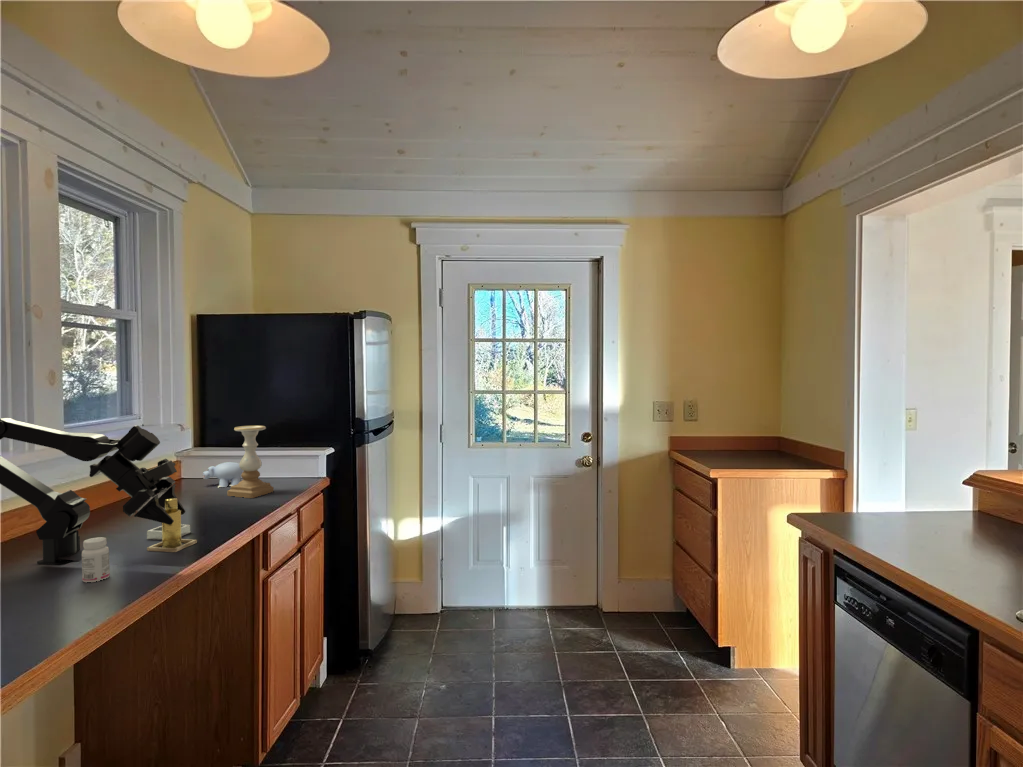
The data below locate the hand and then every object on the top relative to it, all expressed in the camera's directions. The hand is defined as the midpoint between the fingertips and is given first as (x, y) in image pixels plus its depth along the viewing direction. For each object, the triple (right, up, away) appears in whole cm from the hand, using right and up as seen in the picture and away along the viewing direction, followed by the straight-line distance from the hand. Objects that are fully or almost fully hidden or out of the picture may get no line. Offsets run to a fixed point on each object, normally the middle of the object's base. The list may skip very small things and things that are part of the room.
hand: (178, 518), depth 140 cm
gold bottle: (-1, -7, 0) cm, 8 cm away
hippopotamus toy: (-28, -6, +80) cm, 85 cm away
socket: (-8, -8, +9) cm, 14 cm away
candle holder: (-11, -7, +64) cm, 65 cm away
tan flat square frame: (-1, -8, 0) cm, 8 cm away
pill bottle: (-7, -9, -17) cm, 21 cm away
